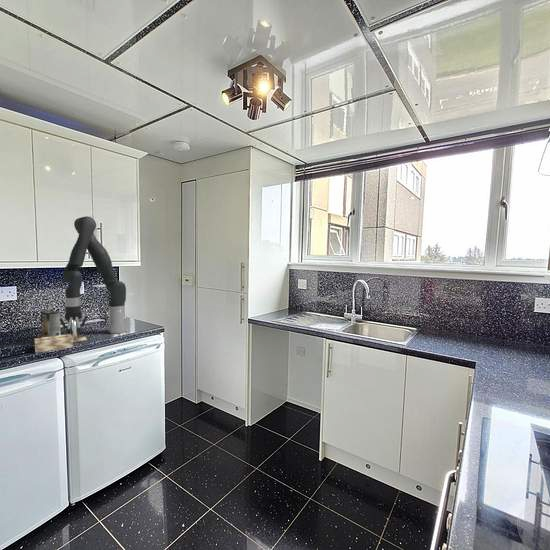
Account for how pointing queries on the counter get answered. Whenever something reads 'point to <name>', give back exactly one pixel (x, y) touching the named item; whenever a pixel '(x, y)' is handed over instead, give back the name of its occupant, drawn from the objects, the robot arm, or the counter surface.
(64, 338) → the hole block
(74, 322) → the peg
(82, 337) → the mat
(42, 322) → the coffee box
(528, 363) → the counter surface
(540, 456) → the counter surface
